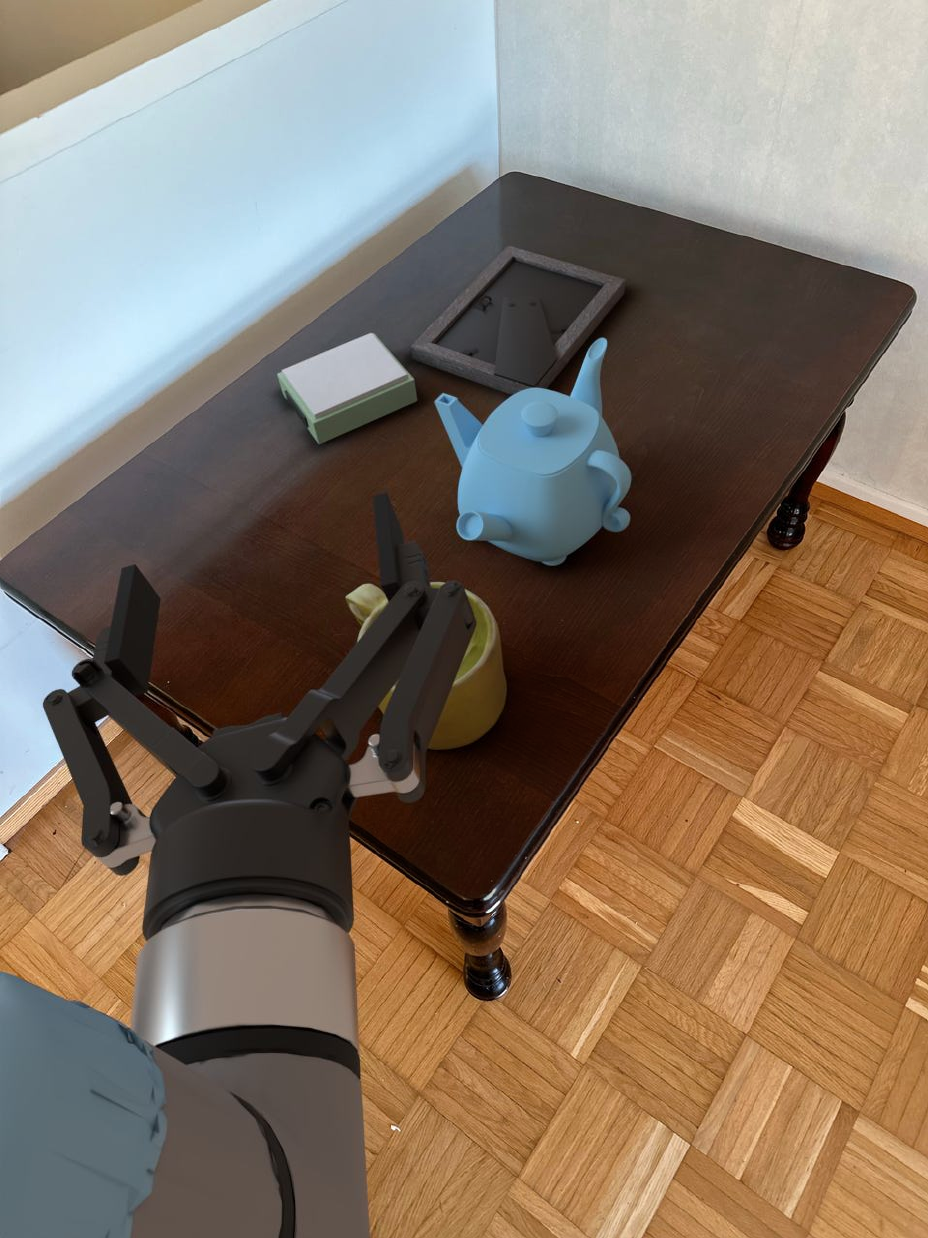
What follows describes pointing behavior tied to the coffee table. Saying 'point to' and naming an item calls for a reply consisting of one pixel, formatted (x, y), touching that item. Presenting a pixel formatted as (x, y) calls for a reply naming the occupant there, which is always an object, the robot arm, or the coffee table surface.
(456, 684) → the mug
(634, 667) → the coffee table surface
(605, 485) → the teapot
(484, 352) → the picture frame
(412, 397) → the scale
